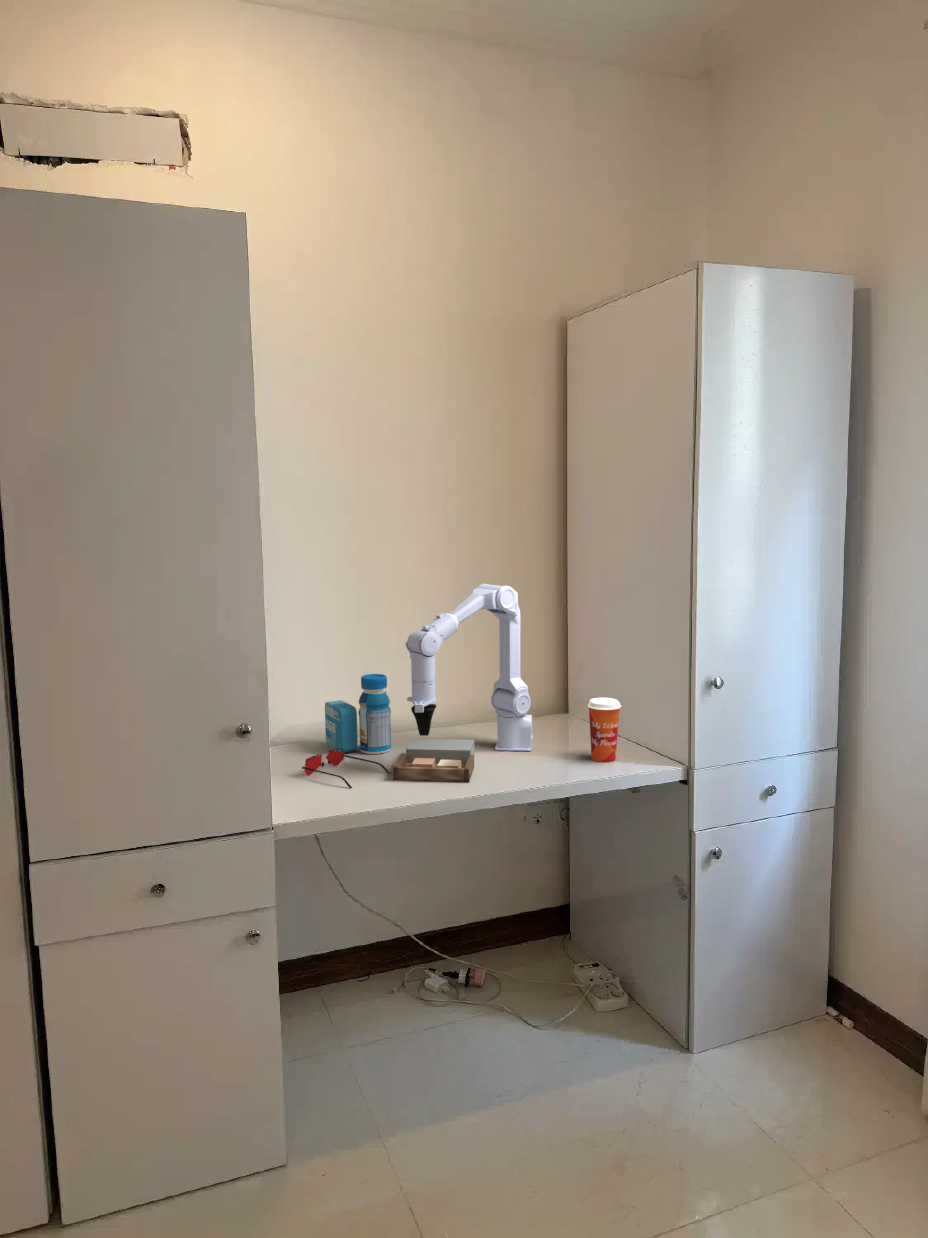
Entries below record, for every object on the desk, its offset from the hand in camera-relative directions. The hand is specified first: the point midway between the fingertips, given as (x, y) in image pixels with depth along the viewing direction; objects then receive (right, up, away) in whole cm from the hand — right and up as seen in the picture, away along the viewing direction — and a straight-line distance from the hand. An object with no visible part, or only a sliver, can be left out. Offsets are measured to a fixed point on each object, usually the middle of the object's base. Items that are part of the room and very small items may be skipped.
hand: (424, 734), depth 214 cm
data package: (-23, -6, +20) cm, 31 cm away
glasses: (-19, -10, -4) cm, 21 cm away
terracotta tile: (0, -6, -2) cm, 6 cm away
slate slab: (+4, -7, +8) cm, 12 cm away
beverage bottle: (-14, -7, +17) cm, 23 cm away
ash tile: (+6, -6, -4) cm, 9 cm away
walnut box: (+3, -9, -3) cm, 10 cm away
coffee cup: (+45, -7, +8) cm, 46 cm away
